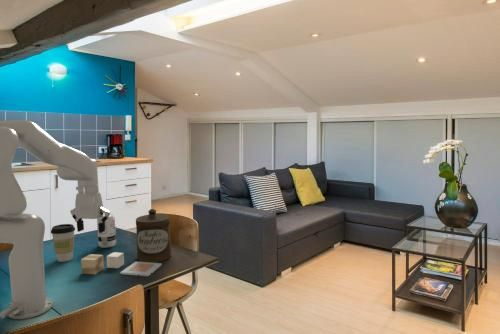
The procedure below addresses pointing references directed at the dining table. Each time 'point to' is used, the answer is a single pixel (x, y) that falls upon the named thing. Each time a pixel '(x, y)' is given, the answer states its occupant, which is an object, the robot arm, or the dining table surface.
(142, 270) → the white orange square board
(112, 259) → the cream block
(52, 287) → the dining table surface
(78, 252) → the dining table surface
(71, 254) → the coffee cup
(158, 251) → the wooden container
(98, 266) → the oak block
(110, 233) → the supplement can
